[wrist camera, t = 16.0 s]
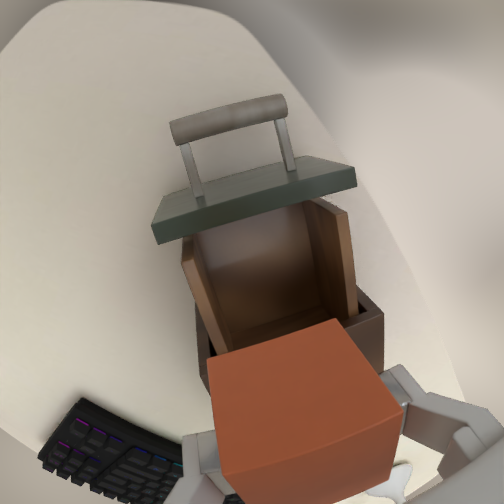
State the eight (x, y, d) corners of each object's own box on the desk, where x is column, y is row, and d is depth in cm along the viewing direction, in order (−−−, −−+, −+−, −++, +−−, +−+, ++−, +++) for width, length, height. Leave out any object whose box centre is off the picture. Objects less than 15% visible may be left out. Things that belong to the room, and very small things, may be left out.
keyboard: (313, 480, 45) (321, 501, 41) (251, 513, 48) (256, 533, 43) (79, 390, 30) (70, 422, 25) (41, 441, 32) (34, 467, 27)
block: (205, 358, 10) (221, 475, 6) (335, 316, 10) (405, 410, 6) (241, 432, 11) (263, 524, 7) (343, 398, 12) (389, 480, 8)
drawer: (143, 133, 21) (120, 134, 14) (293, 94, 22) (336, 80, 15) (214, 337, 29) (224, 399, 21) (332, 299, 30) (371, 348, 22)
